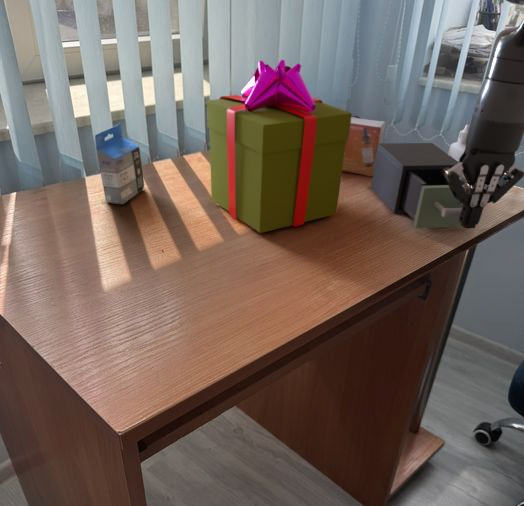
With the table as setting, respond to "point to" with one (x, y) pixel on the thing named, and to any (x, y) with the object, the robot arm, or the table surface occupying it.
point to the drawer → (430, 199)
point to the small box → (362, 145)
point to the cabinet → (404, 168)
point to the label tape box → (119, 166)
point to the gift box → (276, 151)
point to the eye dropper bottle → (459, 145)
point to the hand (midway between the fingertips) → (467, 226)
